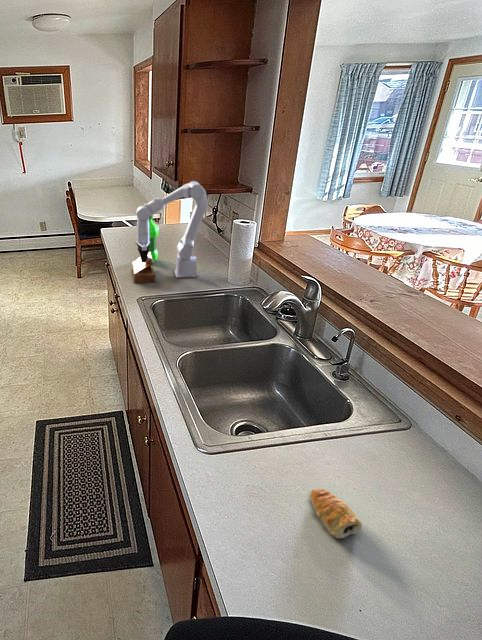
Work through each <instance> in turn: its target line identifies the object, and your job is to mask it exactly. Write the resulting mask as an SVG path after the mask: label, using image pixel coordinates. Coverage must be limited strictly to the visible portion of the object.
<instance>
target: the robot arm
mask: <svg viewBox="0 0 482 640" xmlns="http://www.w3.org/2000/svg"><path fill="white" fill-rule="evenodd" d="M190 197H191V198H192V200H193V202H194V207H193V210H192V213H191V215H190V216H191V217H190V218H189V220H188V224H187V227H186V229H185V231H184V234H183V236H182V237H181V238H180V240H179V242H178V243H176V246H175V247H176V248H175V249H176V251H177V254H176V259H175V270H174V271H173V272H174V275H175V277H176V278H178V279H179V278H197V265H198V263H197V257H196V256H193V252H194V251H193V249H194V245H195V244H194V243H195V238H196V236H197V233H198V231H199V229H200V226H201V223H202V221H203V218H204V216H205V213H206V210H207V208H208V205H209V203H208V202H209V201H208V197H207V191H206V189H205V188H204V187H203V186H202V185H201V184H200V183H199V182H198V181H196V180H191V181H189V182H188V183H185V184H183V185H182V186H180V187H178V188H177V189H175V190H174V191H172V192H170V193H168V194H167V195H165V196H164V197H162V198H161V197H157V198H156V197H154V198H152V200H151V201H150V202H147V203H143V205H140V206H138V207H137V209H136V211H135V215H136V240H135V241H134V244H135V245H136V246H137V251H138V253H139V256H140V257H141V262H146V260H147V255H148V252H149V251H150V248H147V247H148V245H149V243H150V241H149V217H150V216H152V215H153V216H154V215H155V214H157V213H159V212H161V211H163V210H164V209H165V207H166V206H167V205H168V204H170V203H172V202H174V201H176V200H178V199H180V198H187V199H189V198H190ZM140 257H139V258H140Z"/></svg>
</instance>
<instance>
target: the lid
mask: <svg viewBox="0 0 482 640" xmlns="http://www.w3.org/2000/svg"><path fill="white" fill-rule="evenodd" d="M151 265H154V261H153V259H152V256H151V252H150V251H149V252H148V255H147V260H146V262H141V257H138V258H136V259H135V260H134V261H132V271H133V270H134V275H136V274H138V273H139V272H141V271H143V270H144V269H146V268H147V267H149V266H151ZM134 275H133V276H134Z"/></svg>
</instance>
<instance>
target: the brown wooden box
mask: <svg viewBox="0 0 482 640" xmlns="http://www.w3.org/2000/svg"><path fill="white" fill-rule="evenodd" d="M153 265H154V264H152V265H151V266H149V267H147V268H146V269H144V270H143V271H141V272H139V273H138V274H136V275H134V270H133V269H132V274H133V281H134V284H139V283H140V284H141V283H142V284H143V283H156V274H155V269H154V266H153Z"/></svg>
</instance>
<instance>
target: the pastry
mask: <svg viewBox="0 0 482 640" xmlns="http://www.w3.org/2000/svg"><path fill="white" fill-rule="evenodd" d="M309 499H310V501H311V503H312V506H313V508H314V510H315V513H316V516H317V517H318V518H319V520H320V522H321V523H322V525H323V526H324V527H325V528H326V530H327V532H328V533H329V534H330V535H331V536H333V538H335V539H339V540H340V539H343V538H346V537H348V536H349V535H355V534H357V533H359V532H360V531H361V529H362V522H361V519H359V518H358V516H357V515H356V513H355V511H353V510H352V509H351V508H350V507H349V506H348V504H347V503H346V502H344V501H343V500H341V499H340V498H338V496H335V495H334V494H333V493H331V492H330V491H327V490H326V489H323V488H319V489H318V488H317V489H312V490H311V491H310V495H309Z"/></svg>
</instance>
